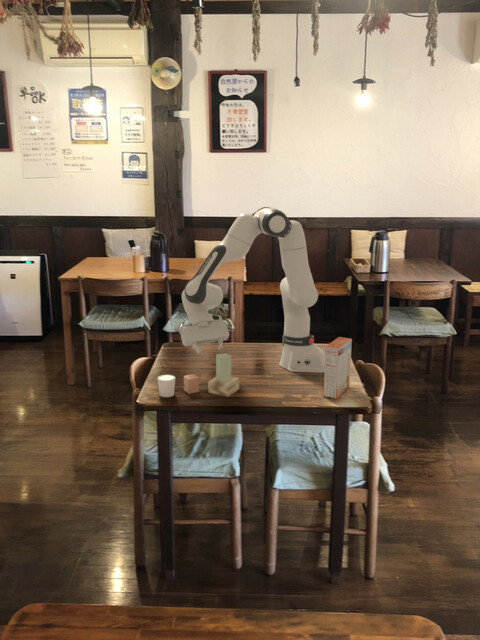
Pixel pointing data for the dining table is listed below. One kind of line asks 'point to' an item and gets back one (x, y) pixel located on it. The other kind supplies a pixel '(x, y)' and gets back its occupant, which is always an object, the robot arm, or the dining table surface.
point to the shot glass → (166, 385)
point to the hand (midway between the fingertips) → (210, 351)
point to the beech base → (223, 386)
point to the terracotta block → (191, 383)
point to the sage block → (223, 367)
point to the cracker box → (337, 367)
